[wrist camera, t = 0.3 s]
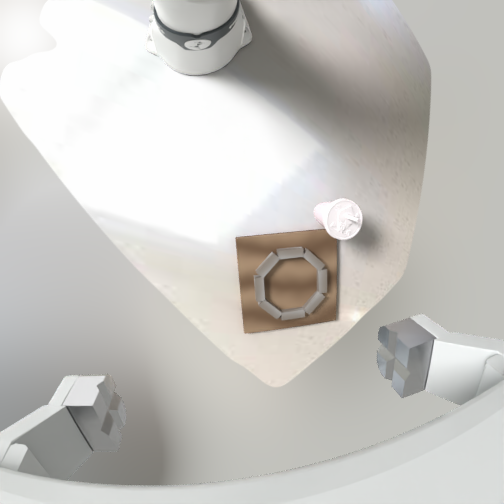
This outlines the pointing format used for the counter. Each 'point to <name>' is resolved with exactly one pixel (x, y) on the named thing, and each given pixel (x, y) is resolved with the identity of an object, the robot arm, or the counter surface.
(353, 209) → the smoothie
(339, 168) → the counter surface
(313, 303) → the socket
